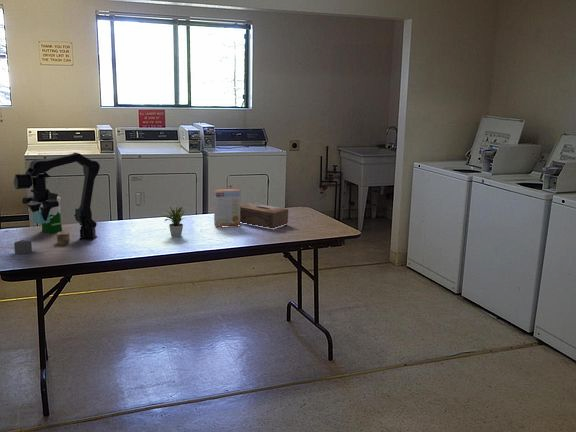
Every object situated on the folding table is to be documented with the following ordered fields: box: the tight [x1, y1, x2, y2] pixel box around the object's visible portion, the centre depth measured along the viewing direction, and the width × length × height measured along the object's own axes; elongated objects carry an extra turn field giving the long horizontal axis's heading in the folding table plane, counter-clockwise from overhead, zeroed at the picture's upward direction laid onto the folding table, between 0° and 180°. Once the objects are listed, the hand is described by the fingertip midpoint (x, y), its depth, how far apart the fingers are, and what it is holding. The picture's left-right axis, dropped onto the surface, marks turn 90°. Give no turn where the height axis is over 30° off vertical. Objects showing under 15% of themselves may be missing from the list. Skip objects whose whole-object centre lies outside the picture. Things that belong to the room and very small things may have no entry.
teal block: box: [32, 209, 50, 225], centre depth 258 cm, size 5×5×5 cm
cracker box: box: [213, 188, 241, 228], centre depth 308 cm, size 14×6×21 cm, turn 111°
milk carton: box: [40, 192, 63, 234], centre depth 285 cm, size 9×9×20 cm
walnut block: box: [56, 231, 71, 245], centre depth 266 cm, size 5×5×5 cm
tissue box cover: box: [240, 202, 289, 228], centre depth 316 cm, size 26×14×10 cm, turn 56°
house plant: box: [160, 205, 186, 238], centre depth 284 cm, size 14×14×16 cm
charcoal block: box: [13, 239, 33, 255], centre depth 249 cm, size 5×5×5 cm
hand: (41, 219), depth 258 cm, fingers closed on teal block, 5 cm apart
